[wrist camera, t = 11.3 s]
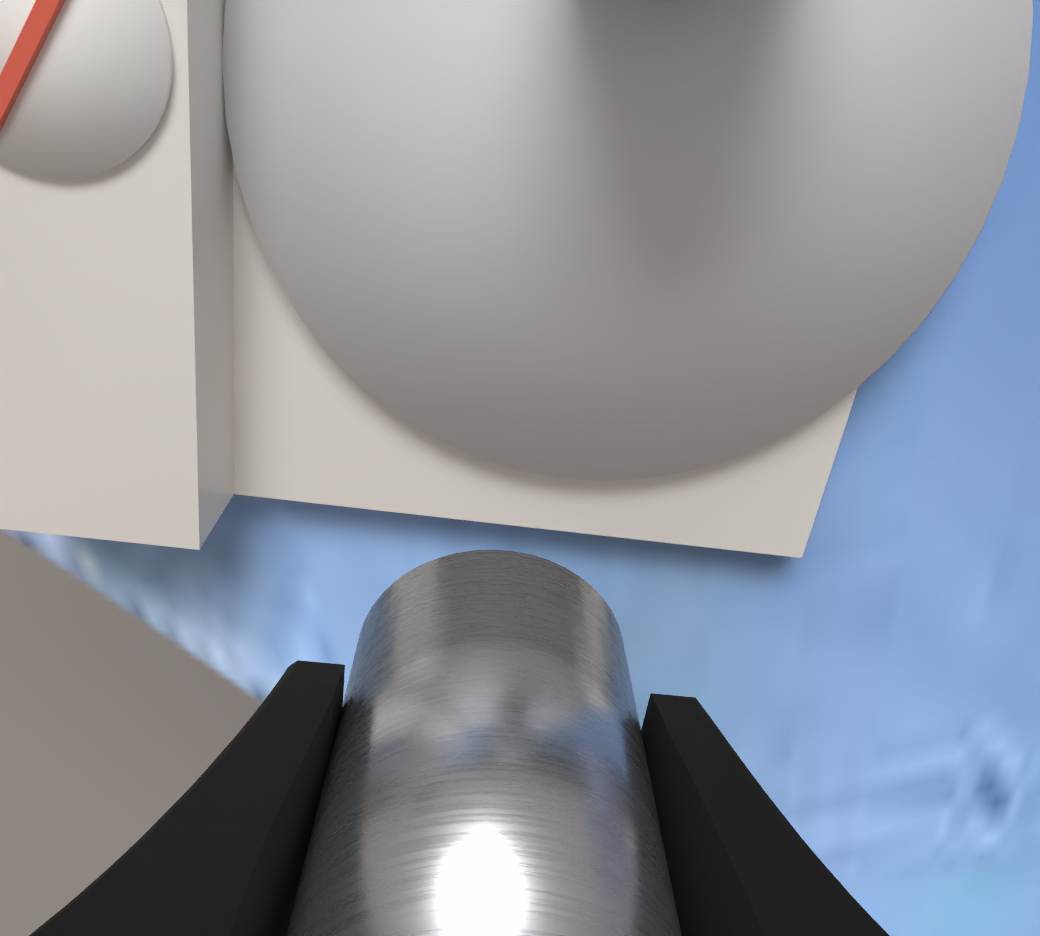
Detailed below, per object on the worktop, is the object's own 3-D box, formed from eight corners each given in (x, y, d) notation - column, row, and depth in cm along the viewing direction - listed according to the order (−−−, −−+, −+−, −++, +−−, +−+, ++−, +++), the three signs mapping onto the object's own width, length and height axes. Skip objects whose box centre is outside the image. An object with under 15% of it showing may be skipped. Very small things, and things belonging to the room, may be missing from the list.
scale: (1151, -398, 12) (1375, -557, 9) (830, 539, 19) (896, 633, 16) (-59, -658, 11) (-285, -951, 8) (54, 450, 18) (-43, 534, 15)
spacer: (662, 587, 12) (790, 1017, 7) (575, 781, 14) (620, 1249, 8) (390, 520, 12) (292, 933, 6) (333, 732, 13) (218, 1199, 8)
